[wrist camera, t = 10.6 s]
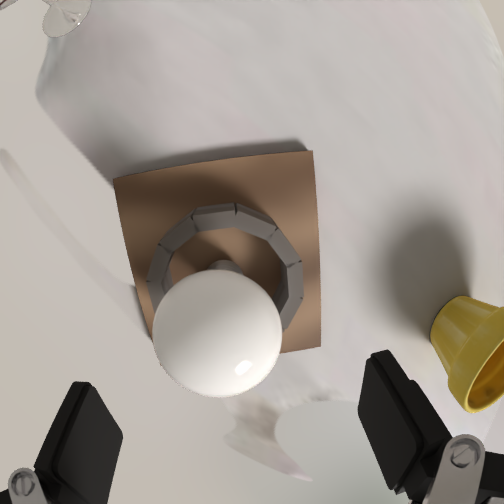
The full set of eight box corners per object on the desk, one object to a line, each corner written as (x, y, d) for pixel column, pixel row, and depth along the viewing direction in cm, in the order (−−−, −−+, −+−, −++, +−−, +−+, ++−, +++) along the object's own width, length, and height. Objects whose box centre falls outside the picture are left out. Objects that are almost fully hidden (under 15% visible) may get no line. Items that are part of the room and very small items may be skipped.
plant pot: (446, 266, 25) (514, 311, 15) (494, 290, 26) (548, 328, 17) (398, 354, 27) (444, 417, 18) (452, 363, 29) (495, 411, 20)
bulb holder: (117, 177, 20) (95, 183, 16) (308, 150, 21) (326, 150, 17) (162, 359, 25) (155, 388, 21) (317, 340, 26) (330, 367, 22)
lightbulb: (171, 296, 22) (128, 399, 12) (196, 218, 21) (152, 284, 10) (250, 322, 23) (256, 434, 13) (282, 249, 21) (317, 336, 11)
